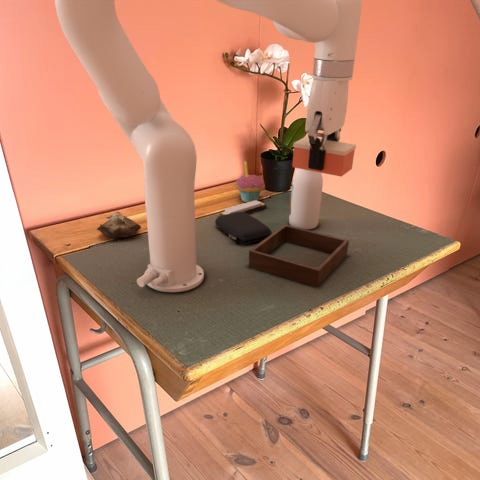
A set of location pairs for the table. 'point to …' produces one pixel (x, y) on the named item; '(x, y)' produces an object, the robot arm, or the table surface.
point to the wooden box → (293, 269)
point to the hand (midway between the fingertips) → (322, 164)
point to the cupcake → (249, 186)
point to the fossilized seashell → (119, 226)
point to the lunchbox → (335, 156)
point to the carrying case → (243, 227)
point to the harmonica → (245, 208)
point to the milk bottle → (305, 199)
